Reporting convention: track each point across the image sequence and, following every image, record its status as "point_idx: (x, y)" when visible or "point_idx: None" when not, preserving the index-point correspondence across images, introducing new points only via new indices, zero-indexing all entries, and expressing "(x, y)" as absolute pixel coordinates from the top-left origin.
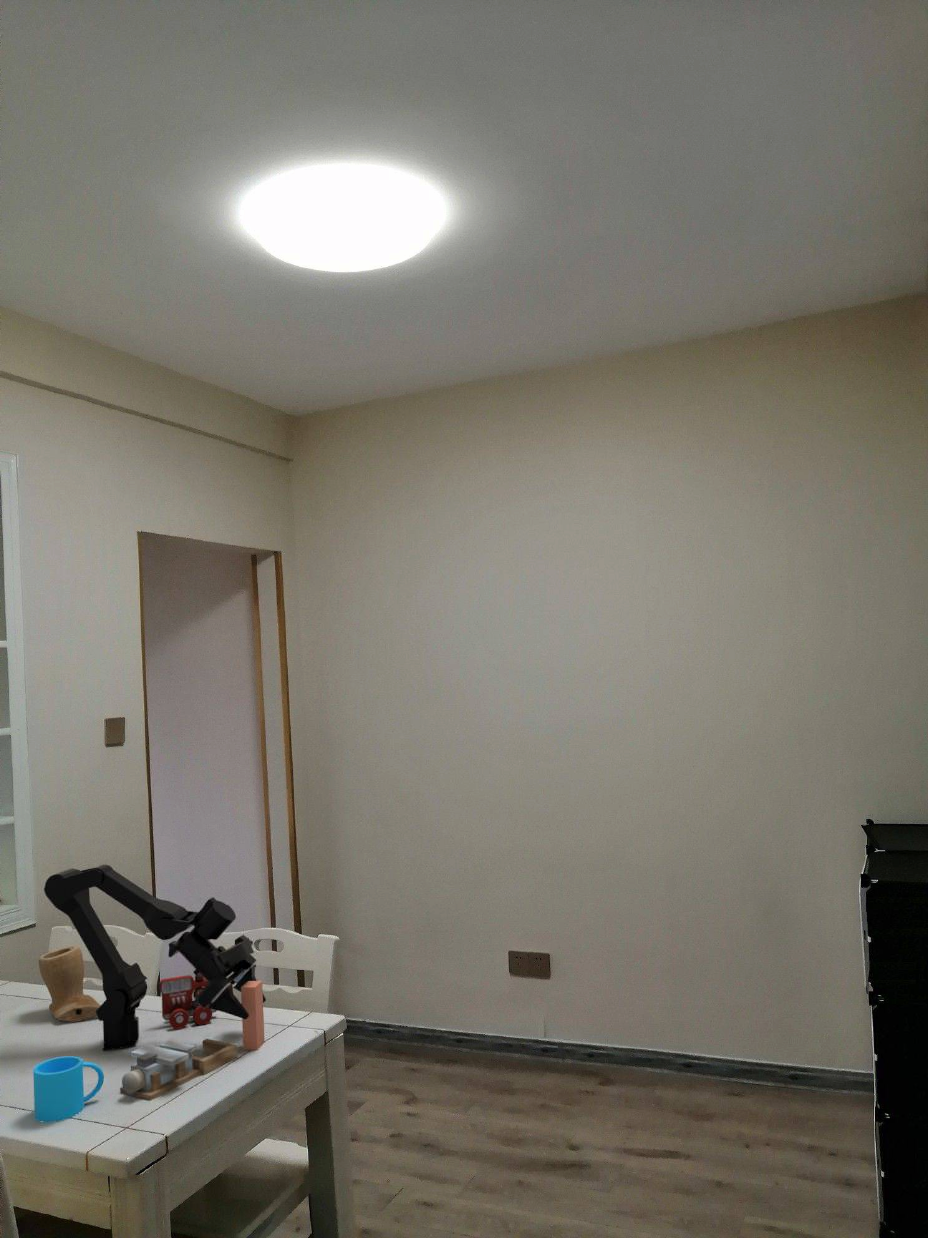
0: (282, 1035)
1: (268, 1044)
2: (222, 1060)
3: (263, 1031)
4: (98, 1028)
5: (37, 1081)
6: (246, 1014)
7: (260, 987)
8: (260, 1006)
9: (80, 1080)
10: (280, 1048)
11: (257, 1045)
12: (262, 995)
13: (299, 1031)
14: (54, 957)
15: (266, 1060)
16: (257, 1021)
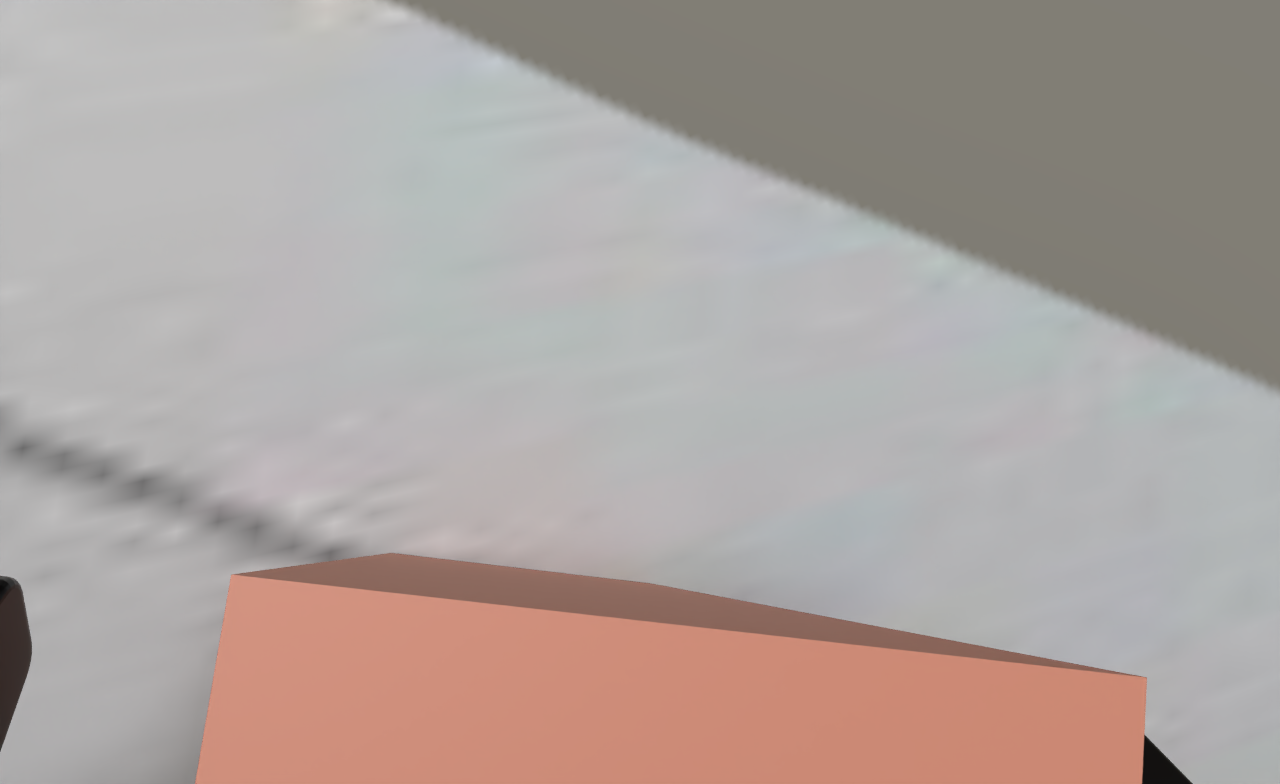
0: (135, 357)
1: (462, 482)
2: None
3: (410, 557)
4: None
5: None
6: (1146, 748)
7: (478, 595)
8: (519, 580)
9: None
10: (617, 292)
11: (653, 584)
12: (332, 566)
13: (5, 142)
14: None
15: (972, 386)
16: (685, 594)
